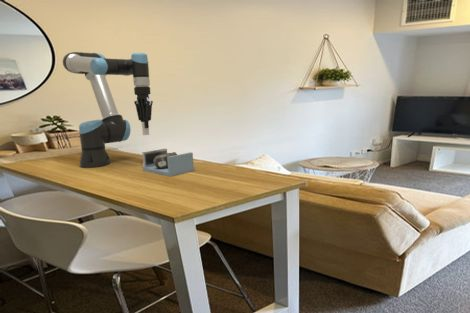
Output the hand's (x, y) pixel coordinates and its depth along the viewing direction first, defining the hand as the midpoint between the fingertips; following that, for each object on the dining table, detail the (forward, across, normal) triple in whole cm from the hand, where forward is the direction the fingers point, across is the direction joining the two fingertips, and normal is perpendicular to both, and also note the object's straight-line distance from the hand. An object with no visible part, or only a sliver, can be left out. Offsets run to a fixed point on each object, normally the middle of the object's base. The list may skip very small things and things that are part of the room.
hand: (146, 134), depth 169 cm
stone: (+15, +16, +1) cm, 22 cm away
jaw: (+14, +7, 0) cm, 16 cm away
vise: (+16, +16, 0) cm, 23 cm away
